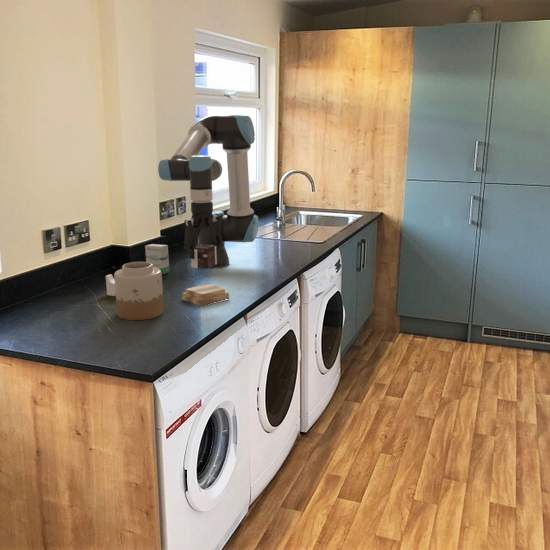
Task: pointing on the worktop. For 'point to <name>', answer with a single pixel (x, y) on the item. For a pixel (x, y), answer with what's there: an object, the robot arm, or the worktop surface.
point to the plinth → (206, 300)
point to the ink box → (158, 256)
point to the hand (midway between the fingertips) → (204, 265)
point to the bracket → (110, 285)
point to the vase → (139, 291)
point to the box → (205, 256)
